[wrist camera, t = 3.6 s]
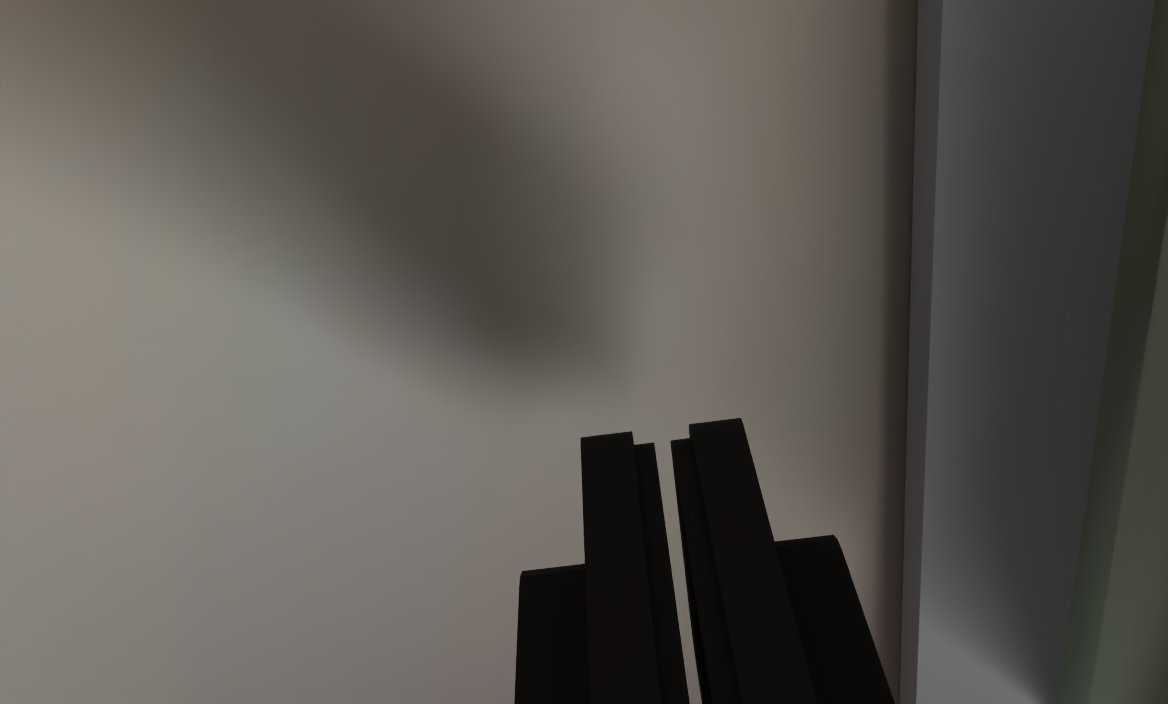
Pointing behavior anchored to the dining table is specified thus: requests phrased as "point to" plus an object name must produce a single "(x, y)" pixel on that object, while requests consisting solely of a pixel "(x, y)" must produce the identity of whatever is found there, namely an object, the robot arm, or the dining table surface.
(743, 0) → the dining table surface
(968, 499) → the rail board
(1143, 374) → the socket block
